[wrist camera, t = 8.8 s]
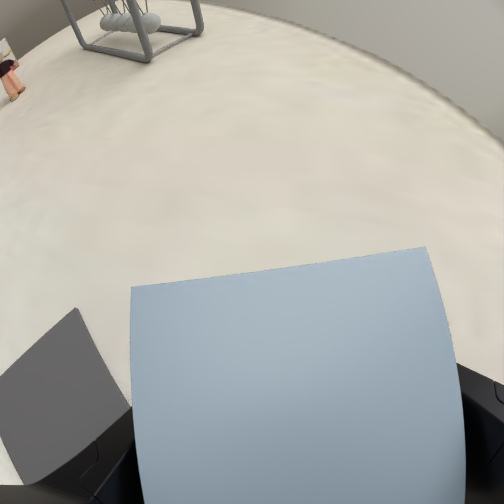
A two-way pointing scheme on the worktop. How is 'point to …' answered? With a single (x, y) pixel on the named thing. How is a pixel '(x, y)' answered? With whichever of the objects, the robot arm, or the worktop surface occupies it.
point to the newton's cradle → (135, 28)
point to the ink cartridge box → (7, 52)
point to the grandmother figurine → (10, 77)
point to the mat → (56, 400)
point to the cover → (298, 386)
